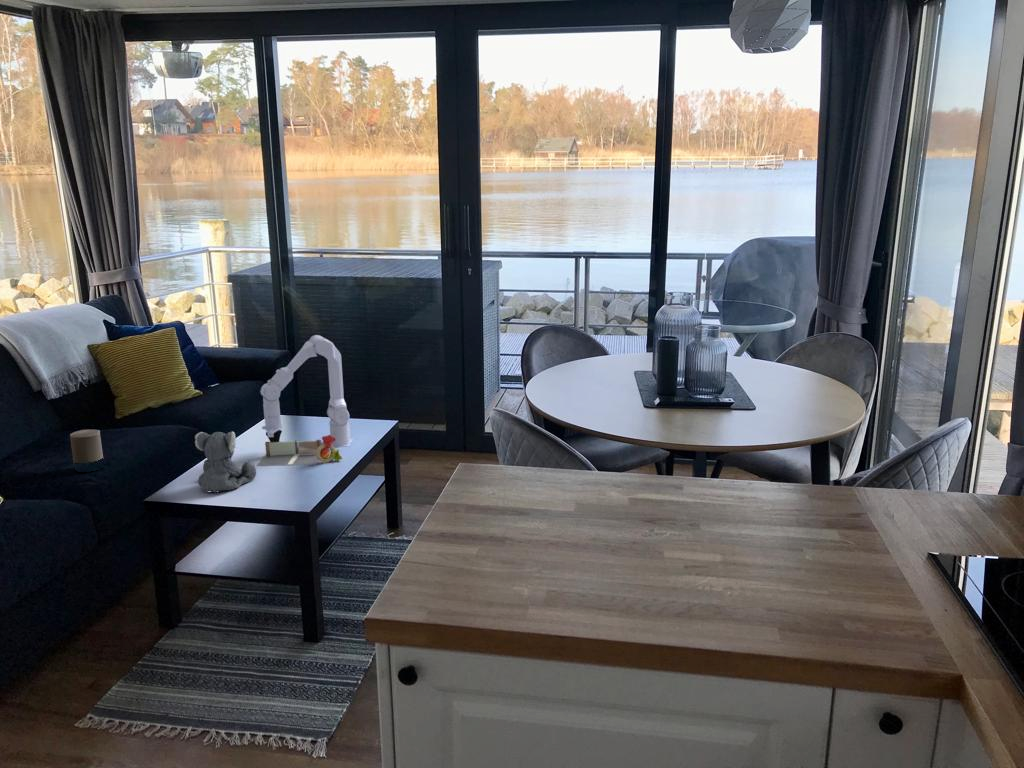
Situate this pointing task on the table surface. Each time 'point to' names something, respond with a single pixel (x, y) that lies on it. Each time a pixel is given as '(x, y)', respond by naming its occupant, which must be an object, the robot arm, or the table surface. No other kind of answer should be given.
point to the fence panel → (281, 448)
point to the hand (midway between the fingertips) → (275, 449)
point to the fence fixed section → (308, 447)
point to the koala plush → (222, 463)
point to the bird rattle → (324, 453)
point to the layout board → (289, 460)
